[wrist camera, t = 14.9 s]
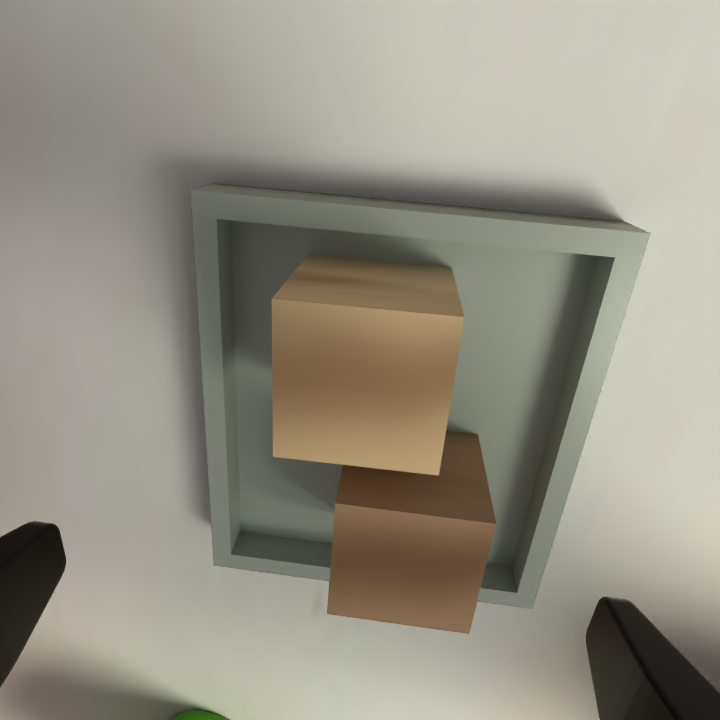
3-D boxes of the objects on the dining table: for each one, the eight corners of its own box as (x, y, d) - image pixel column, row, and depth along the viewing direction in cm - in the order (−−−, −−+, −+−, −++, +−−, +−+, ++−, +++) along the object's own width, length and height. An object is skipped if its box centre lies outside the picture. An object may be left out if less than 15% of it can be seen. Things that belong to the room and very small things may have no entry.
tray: (625, 221, 17) (650, 233, 15) (522, 571, 24) (532, 608, 22) (212, 183, 18) (190, 190, 16) (228, 532, 24) (213, 565, 23)
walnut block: (458, 530, 22) (468, 633, 18) (344, 516, 23) (326, 613, 18) (478, 434, 20) (496, 523, 16) (352, 419, 20) (335, 503, 16)
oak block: (433, 394, 20) (438, 475, 15) (305, 381, 20) (272, 456, 15) (451, 267, 18) (464, 317, 13) (308, 254, 18) (271, 298, 13)
